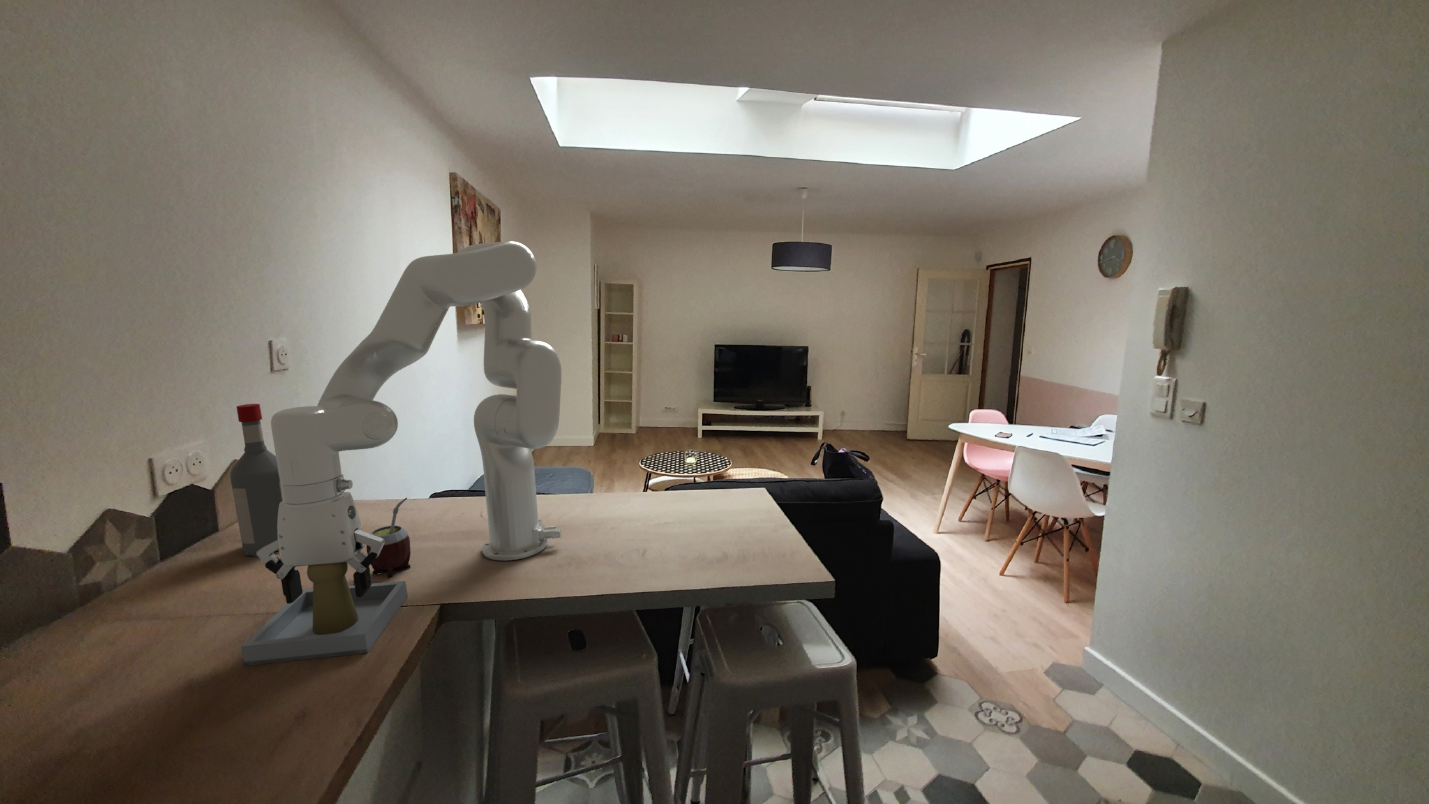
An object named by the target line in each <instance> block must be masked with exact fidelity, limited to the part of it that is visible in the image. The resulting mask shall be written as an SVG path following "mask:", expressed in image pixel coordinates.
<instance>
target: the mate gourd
mask: <svg viewBox="0 0 1429 804" xmlns="http://www.w3.org/2000/svg"><path fill="white" fill-rule="evenodd" d="M407 499H408V497H405V498H404V499H402V500H400V502H398V503H397V504H396V506H395V507H394V508H393V511H392V519H391V525H387V526H383V527H379V528H377V529H374V530H373V531H372V532H370V534H372V535H375V536H377V537H380V538H383V539H384V540H385V543H384V545H383V547H382V550H381V551H380V555H379V556H378V557H377V558H376V559H375V560H374V561H373V562H372V563H371V564H370V565H371V567H372V572H371V573H372V575H373V576H374V574H375V575H379V574H378V573H381V574H386V573H387V579H391V578H393V577H394V574H395V572H397V571H403V570H407V569H406V568H409V569H411V564H410V558H411V554H412V553H411V540H410V539H411V538H410V535H409V534H408V532H407V531H406V529H404V527H402V526H400V525H396V519H397V515H398V513H399V510H400V509H399V508H400V507H401V505H402V504H404V502H405V501H406V500H407ZM370 550H371V547H370V546H368V545H366V555H367V556H368V555H369V553H370ZM402 569H403V570H402ZM393 573H394V574H393Z"/></svg>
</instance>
